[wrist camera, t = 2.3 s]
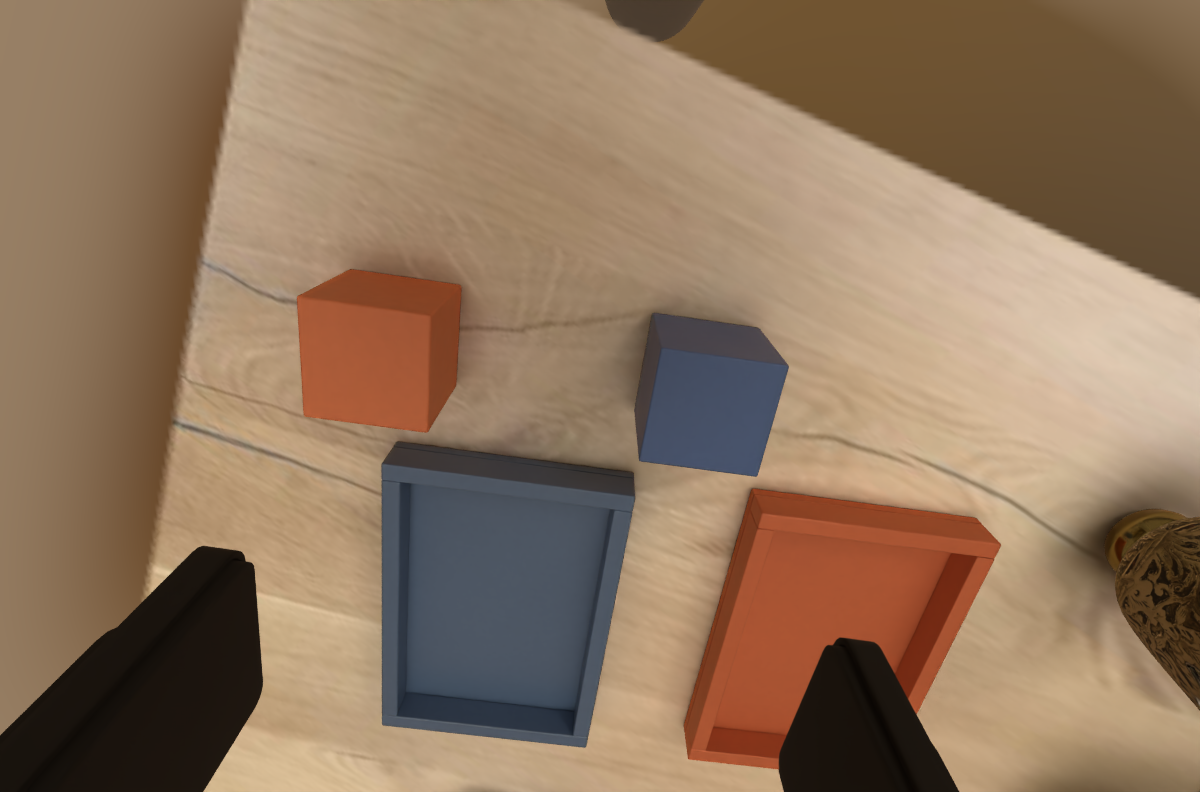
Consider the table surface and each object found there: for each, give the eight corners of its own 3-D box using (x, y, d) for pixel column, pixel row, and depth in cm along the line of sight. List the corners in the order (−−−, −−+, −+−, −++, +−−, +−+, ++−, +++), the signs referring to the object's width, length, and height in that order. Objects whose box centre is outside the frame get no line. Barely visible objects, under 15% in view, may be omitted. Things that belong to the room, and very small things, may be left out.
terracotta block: (349, 268, 23) (295, 295, 19) (461, 284, 24) (431, 315, 20) (351, 372, 25) (303, 417, 21) (456, 386, 25) (427, 433, 21)
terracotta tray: (751, 487, 27) (761, 513, 25) (976, 517, 28) (1002, 544, 26) (683, 725, 33) (687, 759, 31) (868, 746, 34) (883, 781, 32)
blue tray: (396, 440, 26) (380, 463, 25) (634, 472, 27) (635, 497, 25) (394, 692, 33) (381, 725, 31) (587, 714, 33) (585, 748, 31)
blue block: (652, 311, 24) (660, 347, 20) (759, 327, 24) (789, 365, 20) (633, 410, 26) (638, 461, 22) (734, 424, 26) (757, 477, 22)
